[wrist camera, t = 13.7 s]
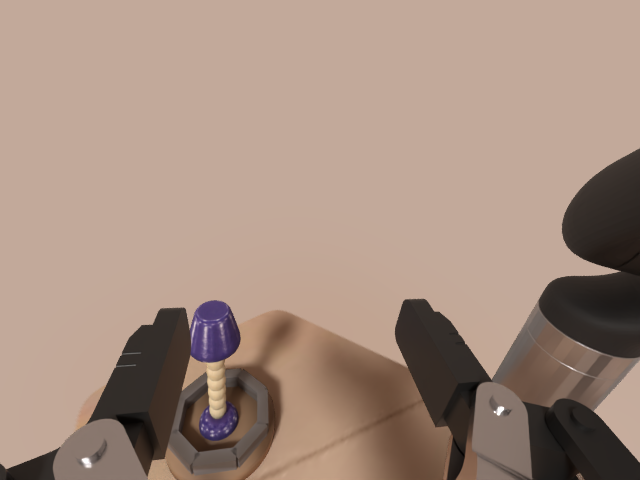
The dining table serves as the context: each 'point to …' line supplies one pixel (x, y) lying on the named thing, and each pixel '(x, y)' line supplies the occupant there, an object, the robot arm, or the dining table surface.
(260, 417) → the plinth
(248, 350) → the dining table surface
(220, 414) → the toy lamp
